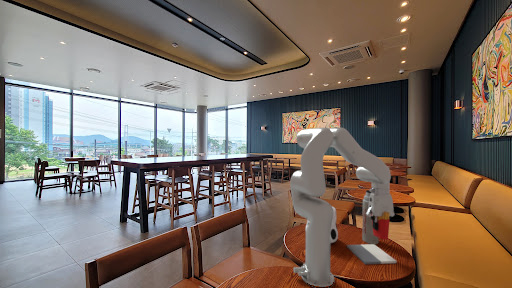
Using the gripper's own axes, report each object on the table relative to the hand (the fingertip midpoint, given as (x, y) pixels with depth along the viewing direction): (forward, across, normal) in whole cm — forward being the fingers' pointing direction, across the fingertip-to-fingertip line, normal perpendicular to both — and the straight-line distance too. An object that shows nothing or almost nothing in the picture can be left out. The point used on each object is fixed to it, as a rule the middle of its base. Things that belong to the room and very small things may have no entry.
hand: (380, 228), depth 101 cm
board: (+13, -4, +2) cm, 14 cm away
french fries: (+4, 0, 0) cm, 4 cm away
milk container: (+13, -21, +19) cm, 31 cm away
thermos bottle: (+13, +6, +16) cm, 22 cm away
